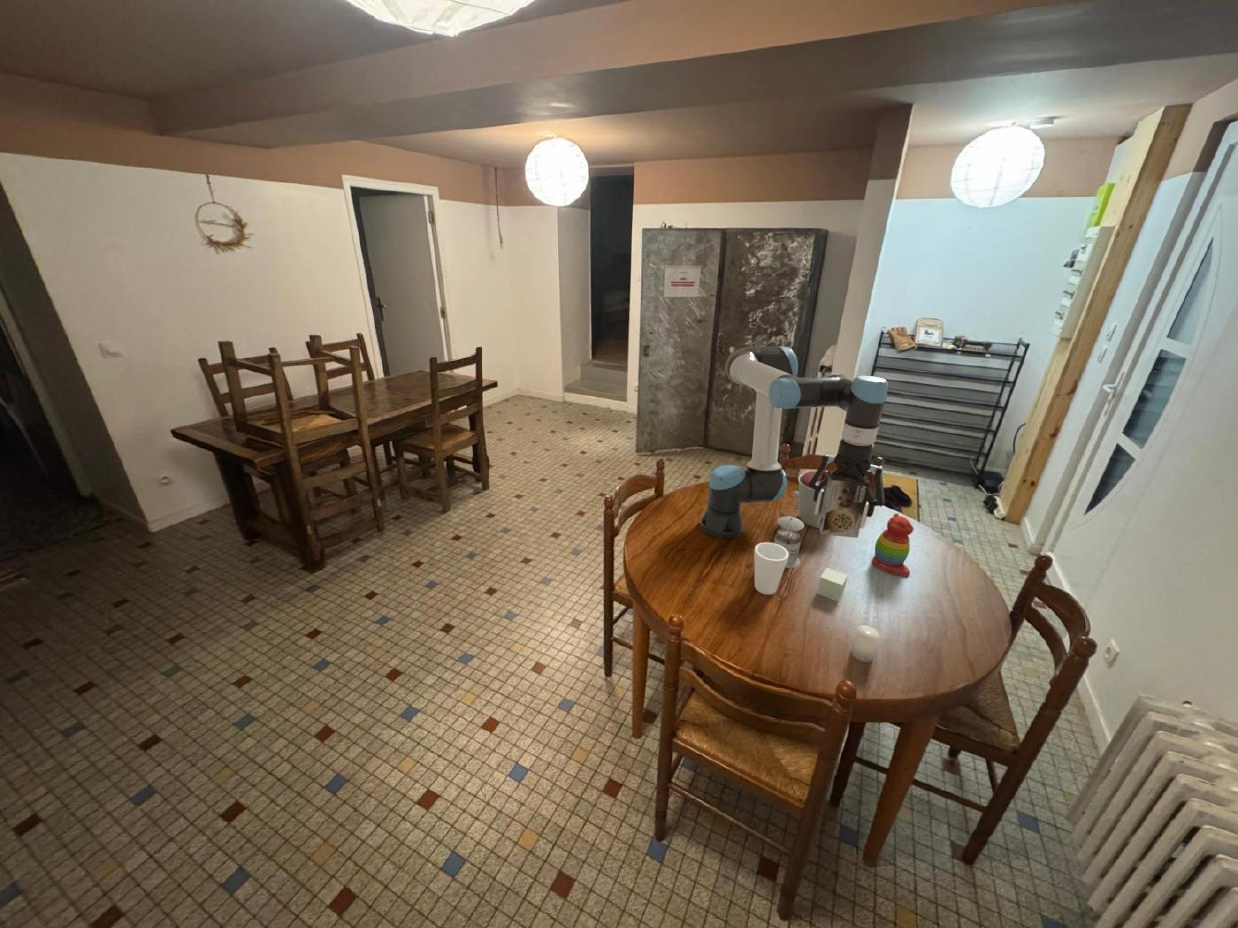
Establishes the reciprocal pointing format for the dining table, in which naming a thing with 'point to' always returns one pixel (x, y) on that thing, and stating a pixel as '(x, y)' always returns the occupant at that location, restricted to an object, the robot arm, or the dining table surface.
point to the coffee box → (842, 505)
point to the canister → (808, 498)
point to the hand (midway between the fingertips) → (839, 519)
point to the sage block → (832, 584)
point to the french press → (790, 536)
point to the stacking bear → (893, 546)
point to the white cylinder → (865, 643)
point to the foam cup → (769, 566)
